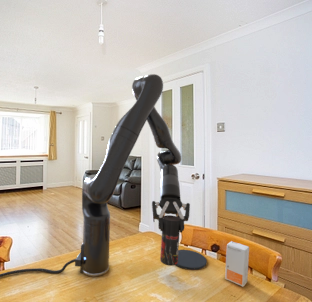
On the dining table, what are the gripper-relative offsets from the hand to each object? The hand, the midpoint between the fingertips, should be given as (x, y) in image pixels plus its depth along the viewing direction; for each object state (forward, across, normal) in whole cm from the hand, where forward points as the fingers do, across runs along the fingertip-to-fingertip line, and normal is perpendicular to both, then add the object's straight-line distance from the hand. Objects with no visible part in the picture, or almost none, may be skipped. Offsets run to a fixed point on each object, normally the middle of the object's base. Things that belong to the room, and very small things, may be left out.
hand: (171, 230), depth 75 cm
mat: (+2, +8, +20) cm, 22 cm away
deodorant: (+7, 0, +9) cm, 12 cm away
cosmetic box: (+11, +22, +12) cm, 27 cm away
